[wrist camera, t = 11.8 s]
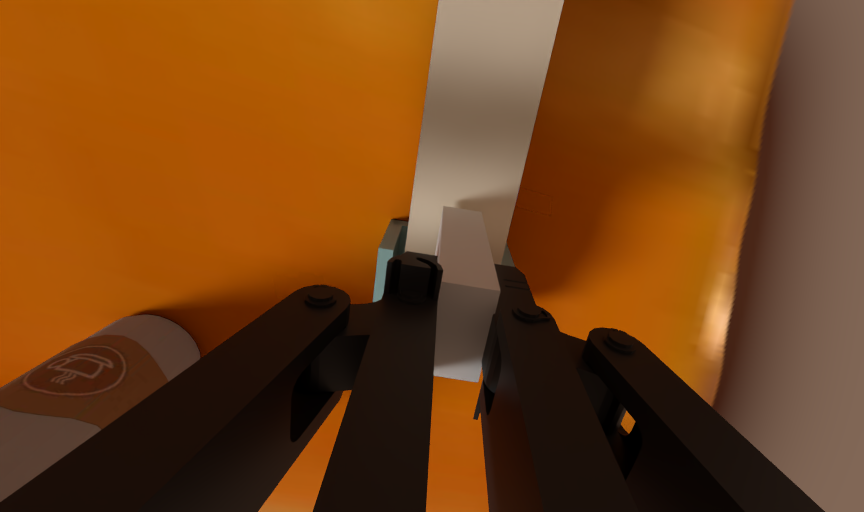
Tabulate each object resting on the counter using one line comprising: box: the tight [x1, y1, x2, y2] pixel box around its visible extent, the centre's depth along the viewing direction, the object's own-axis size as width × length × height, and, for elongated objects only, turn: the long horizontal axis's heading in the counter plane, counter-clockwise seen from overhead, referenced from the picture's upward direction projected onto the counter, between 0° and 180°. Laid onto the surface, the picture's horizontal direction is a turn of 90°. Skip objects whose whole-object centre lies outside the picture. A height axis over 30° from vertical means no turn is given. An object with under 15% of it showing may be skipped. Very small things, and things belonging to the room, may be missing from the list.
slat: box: [405, 0, 564, 265], centre depth 17 cm, size 20×4×6 cm, turn 171°
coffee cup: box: [0, 314, 200, 502], centre depth 21 cm, size 8×8×15 cm
